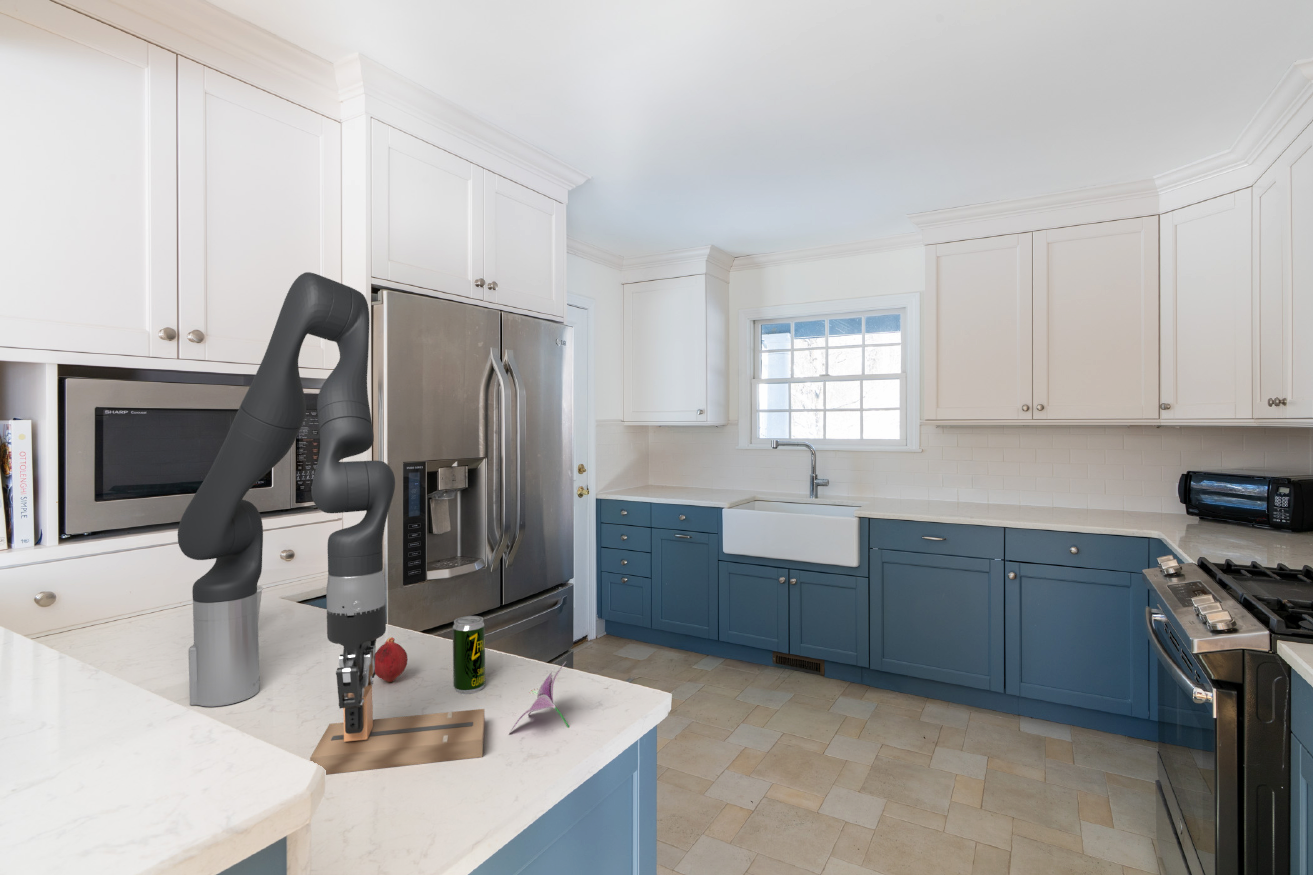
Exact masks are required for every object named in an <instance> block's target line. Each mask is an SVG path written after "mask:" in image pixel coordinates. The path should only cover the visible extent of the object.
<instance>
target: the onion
mask: <svg viewBox="0 0 1313 875" xmlns="http://www.w3.org/2000/svg"><path fill="white" fill-rule="evenodd" d="M407 665H408V654H407V651H406V650H405V649H404V648H403V647H402V646H401V645H400V644H399V643H396V642H395V638H394V637H393V636H391V637H388V638H387V639H386V641H385V642H384V644H382V645H381V646H380V647H379V648H378V649H377V650H376V651H375V676H377V677H378V678H379V679H381V680H383V681H385V682H387V683H392V682H395V681H396V679H397V678H398V677H400V676H401V674H403V672H404V671H405V669H406V668H407Z"/></svg>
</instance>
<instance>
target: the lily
mask: <svg viewBox="0 0 1313 875" xmlns="http://www.w3.org/2000/svg"><path fill="white" fill-rule="evenodd" d="M566 663H567V661H564V663H563V664H562V665H561V666H560V668H558V670H557V672H555V674H554V675H553V670H554V669H552V670H551V672H550V673H549V674H548V676H547V677H546V678H545V680H544V681H543V682H542V684H541V685H540V687H539V688H536V689H537V690H536V689H535V688H533V689H531V690H530V691H531V692H528V693H529V694H533V695H535V696H536V697H537V698H536V699H535V701H534V702H533V703H532V705H531V706H530V708H528V709H527V710H526V711H525V712H524V713H522V714H521V715H520V716H519V718H518V719H517V720H516V721H515V723H514V725H513V726H512V728H511V729H510V731H509V733H508V735H510V733H511V732H512V731H513V730H514V728H515V727H516V725H517V724H518V722H519V721H520V720H521V719H522V718H523V717H524V716H525V715H527V716H528V717H529V716H531V714H532V712H538V711H540V710H545V709H549V708H553V709H554V711H556V713H557V714H558V715H559V716H560V717H561V719H562V721H563V723H564V724H565V726H566V727H567V728H570V725H569V724H568V722H567V720H566V719H565V716H564V715H563V714H562V712H561V711H560V710H559V709H558V707H556V705H555V703H554V685H555V684H554V683H555V680H556V679H557V676H558V674H559V673H560V671H561V670H562V669H563V667H564V666H565V664H566Z"/></svg>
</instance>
